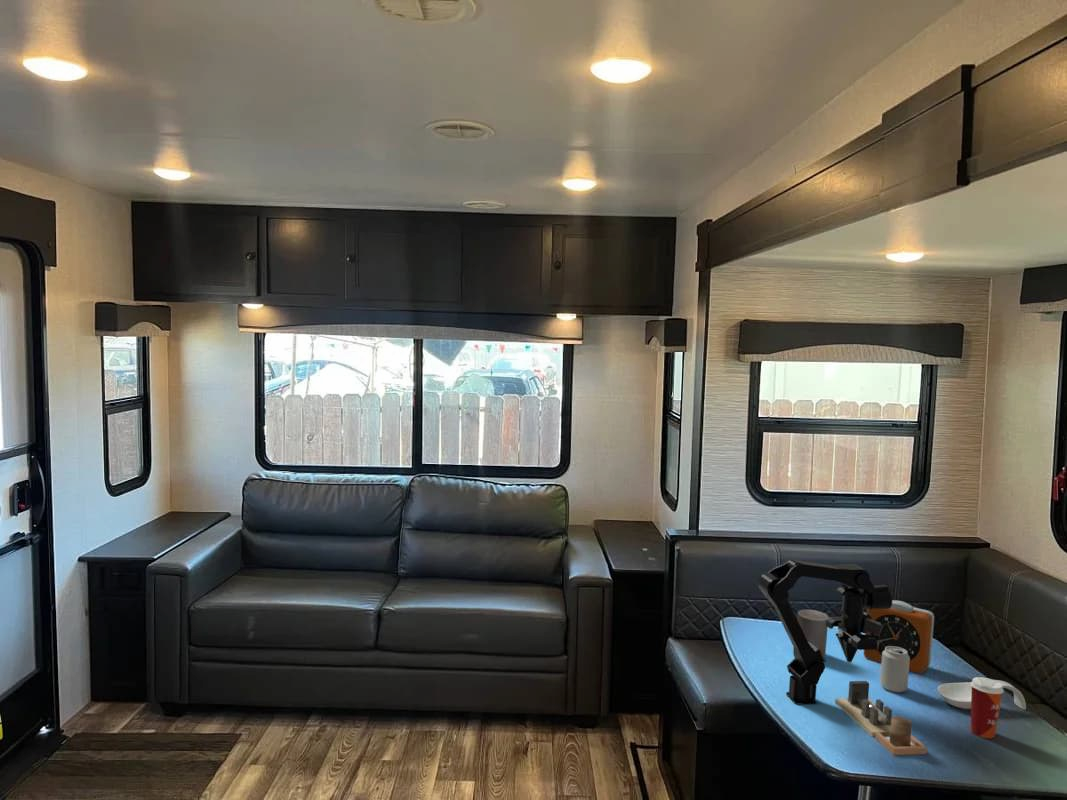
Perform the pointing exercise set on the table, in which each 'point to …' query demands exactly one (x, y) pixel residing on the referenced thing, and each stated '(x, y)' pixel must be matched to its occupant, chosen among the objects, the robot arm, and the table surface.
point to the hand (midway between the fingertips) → (849, 661)
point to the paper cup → (985, 706)
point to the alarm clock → (904, 633)
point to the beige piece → (867, 715)
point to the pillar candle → (814, 628)
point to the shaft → (863, 697)
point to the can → (895, 669)
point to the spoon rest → (962, 693)
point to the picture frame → (902, 750)
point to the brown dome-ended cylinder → (900, 731)
